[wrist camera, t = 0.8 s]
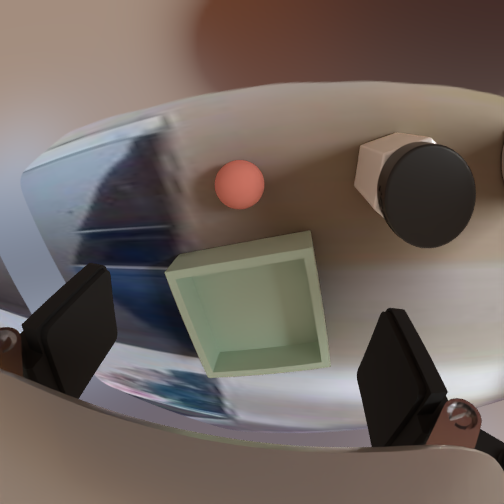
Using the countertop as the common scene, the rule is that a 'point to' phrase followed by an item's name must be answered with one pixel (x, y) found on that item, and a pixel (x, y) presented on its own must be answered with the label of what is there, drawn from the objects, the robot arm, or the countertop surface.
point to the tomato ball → (239, 184)
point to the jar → (417, 187)
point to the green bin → (253, 306)
